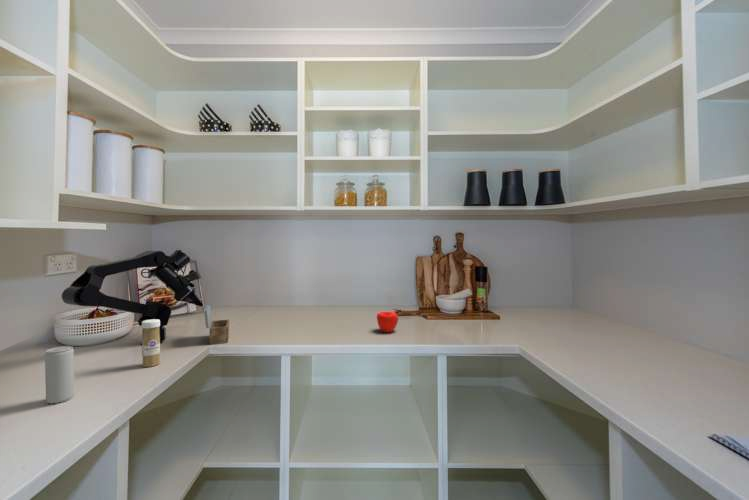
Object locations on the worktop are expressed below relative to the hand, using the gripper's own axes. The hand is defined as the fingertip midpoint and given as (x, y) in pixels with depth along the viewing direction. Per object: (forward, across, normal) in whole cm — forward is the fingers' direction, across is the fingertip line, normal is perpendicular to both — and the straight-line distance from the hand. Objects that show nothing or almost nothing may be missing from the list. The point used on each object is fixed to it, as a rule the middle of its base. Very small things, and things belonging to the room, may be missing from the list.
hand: (202, 305), depth 129 cm
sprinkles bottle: (+1, -29, +18) cm, 34 cm away
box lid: (+4, -9, 0) cm, 9 cm away
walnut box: (+13, -8, +4) cm, 16 cm away
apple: (+57, -25, -42) cm, 76 cm away
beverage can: (-9, -46, +29) cm, 55 cm away
